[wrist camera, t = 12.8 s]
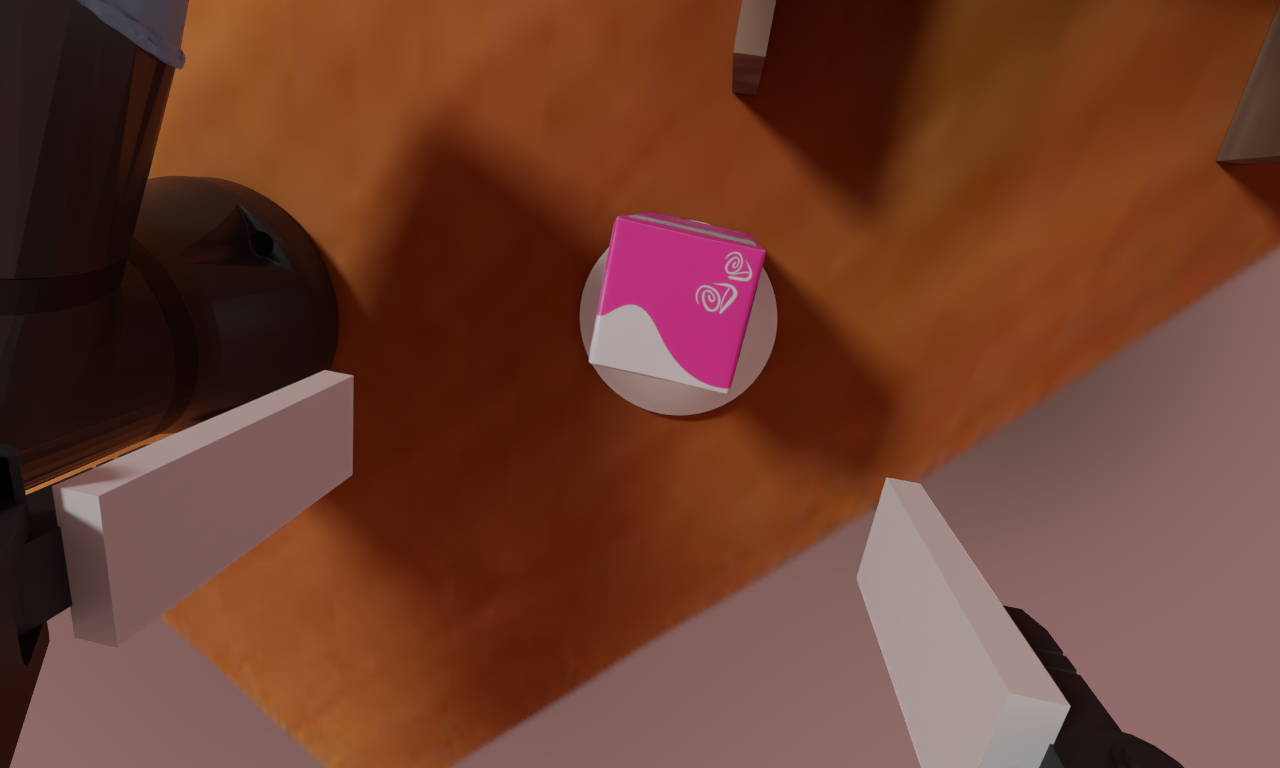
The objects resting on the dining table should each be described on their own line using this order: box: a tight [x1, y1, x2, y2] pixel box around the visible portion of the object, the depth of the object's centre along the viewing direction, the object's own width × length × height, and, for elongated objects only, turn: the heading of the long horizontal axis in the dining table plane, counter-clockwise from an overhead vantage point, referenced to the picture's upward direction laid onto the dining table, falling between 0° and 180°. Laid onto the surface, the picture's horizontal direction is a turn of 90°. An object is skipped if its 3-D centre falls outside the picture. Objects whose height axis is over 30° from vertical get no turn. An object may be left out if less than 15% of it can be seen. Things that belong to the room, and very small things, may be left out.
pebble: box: [580, 219, 777, 415], centre depth 35 cm, size 11×11×1 cm
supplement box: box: [589, 212, 766, 394], centre depth 28 cm, size 6×6×12 cm
